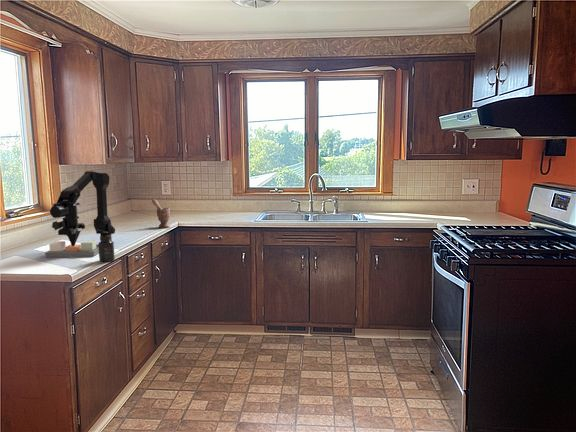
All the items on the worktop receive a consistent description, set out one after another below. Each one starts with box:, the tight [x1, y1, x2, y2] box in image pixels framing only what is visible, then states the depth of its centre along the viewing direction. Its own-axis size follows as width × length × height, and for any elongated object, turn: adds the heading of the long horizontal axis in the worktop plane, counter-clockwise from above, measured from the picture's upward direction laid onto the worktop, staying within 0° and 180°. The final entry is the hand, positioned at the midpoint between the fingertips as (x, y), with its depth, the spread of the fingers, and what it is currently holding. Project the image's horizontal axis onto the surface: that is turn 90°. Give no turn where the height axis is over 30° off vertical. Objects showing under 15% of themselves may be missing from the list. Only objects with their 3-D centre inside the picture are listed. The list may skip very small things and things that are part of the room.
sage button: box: [80, 240, 97, 251], centre depth 222 cm, size 5×5×4 cm
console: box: [44, 246, 99, 259], centre depth 222 cm, size 10×23×2 cm, turn 95°
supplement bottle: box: [97, 235, 116, 263], centre depth 210 cm, size 7×7×12 cm
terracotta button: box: [65, 244, 81, 251], centre depth 222 cm, size 5×5×4 cm
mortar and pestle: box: [151, 198, 171, 229], centre depth 297 cm, size 12×9×20 cm
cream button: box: [48, 240, 67, 252], centre depth 221 cm, size 5×5×4 cm
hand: (73, 245), depth 222 cm, fingers closed, pressing on terracotta button
